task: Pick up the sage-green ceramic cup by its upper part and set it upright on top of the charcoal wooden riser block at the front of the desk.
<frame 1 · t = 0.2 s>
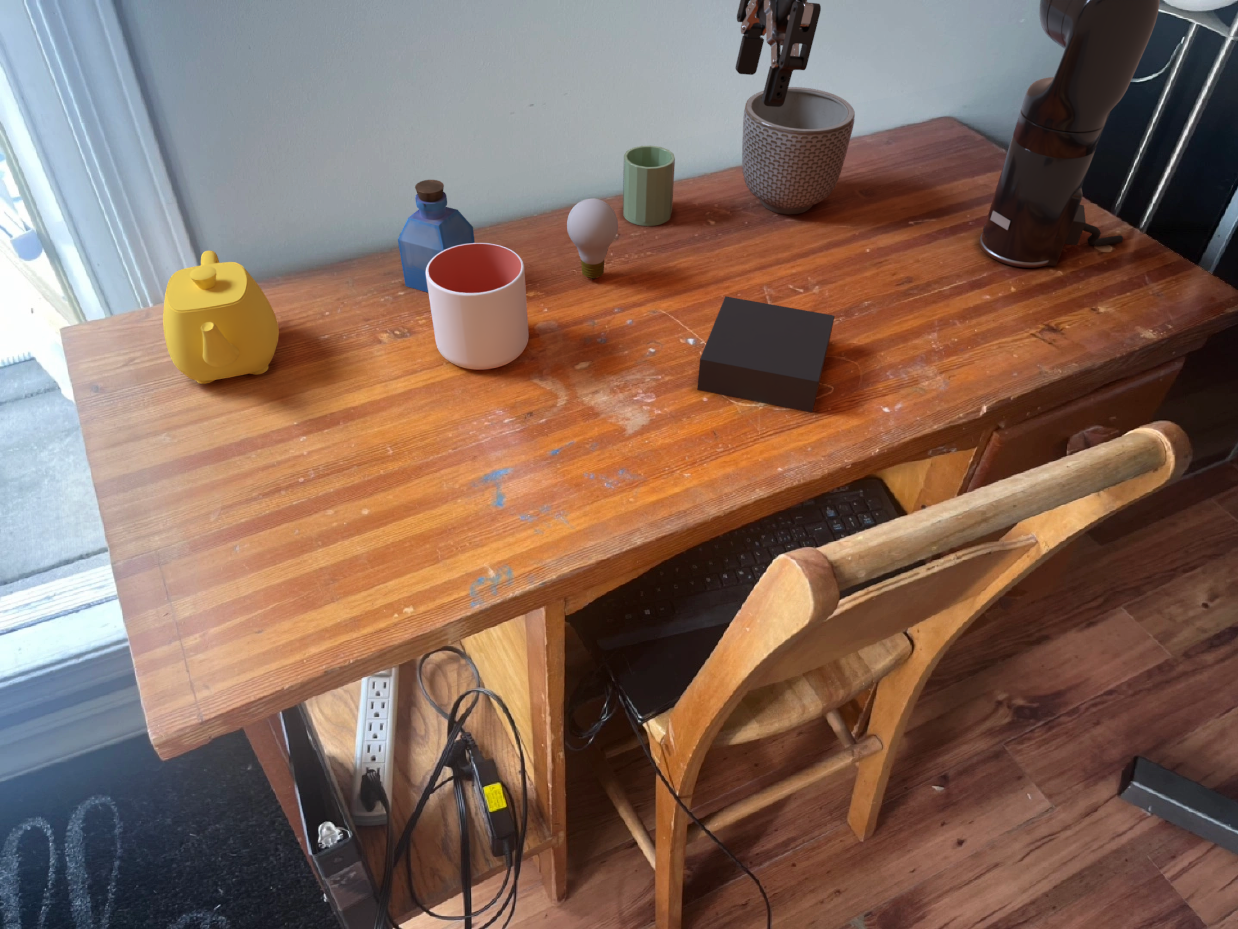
hand: (757, 88, 98), 23 cm above the table, tool pointing down, fingers open, 8 cm apart
riser: (764, 367, 101), on the table
cup: (483, 348, 103), on the table
teapot: (232, 363, 100), on the table
sage cup: (647, 214, 125), on the table
light bulb: (592, 279, 113), on the table
perfume bottle: (442, 280, 113), on the table
planter: (785, 203, 128), on the table
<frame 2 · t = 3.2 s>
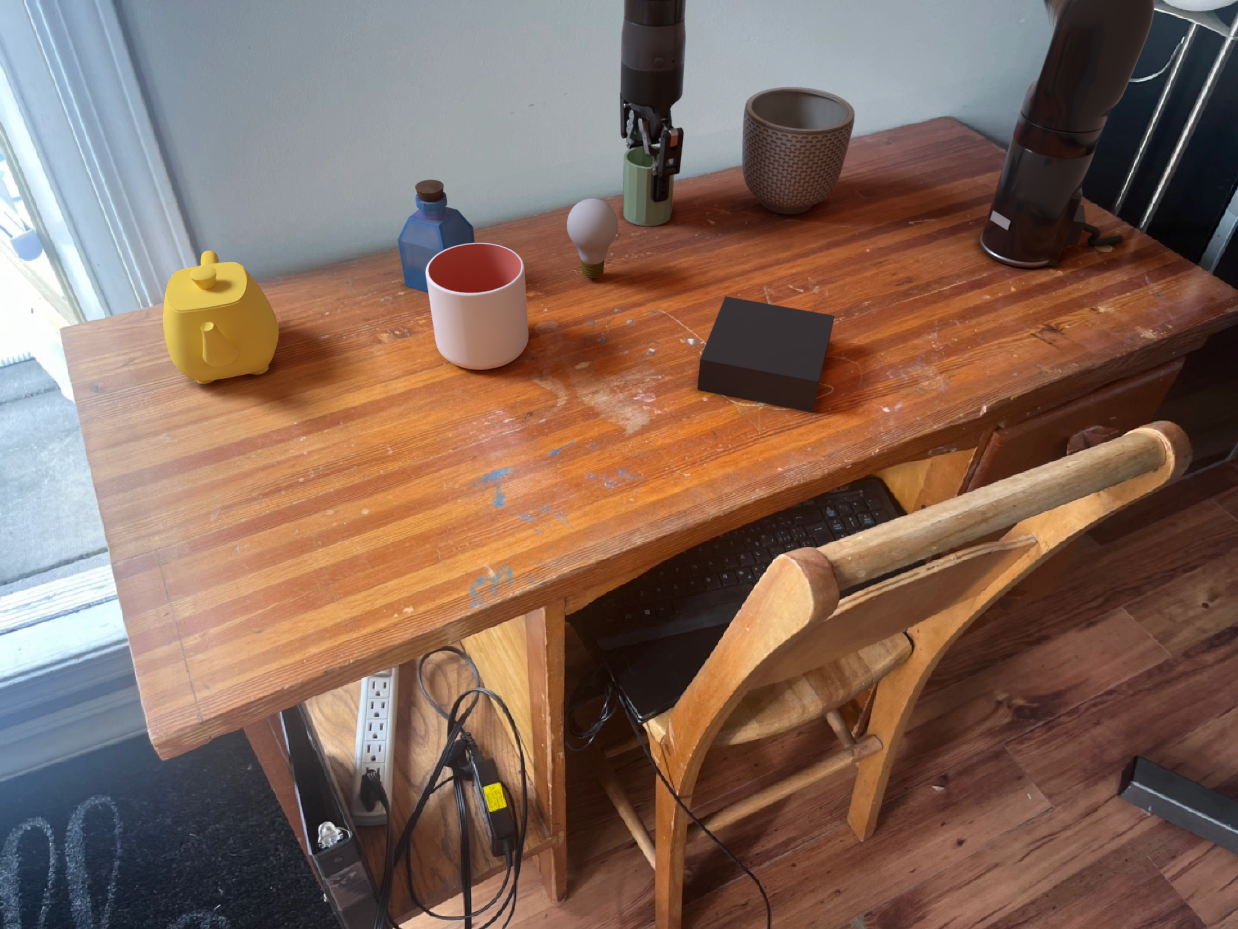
hand: (647, 187, 122), 4 cm above the table, tool pointing down, fingers closed on sage cup, 6 cm apart
sage cup: (647, 214, 125), on the table, touching gripper
everything else where it was.
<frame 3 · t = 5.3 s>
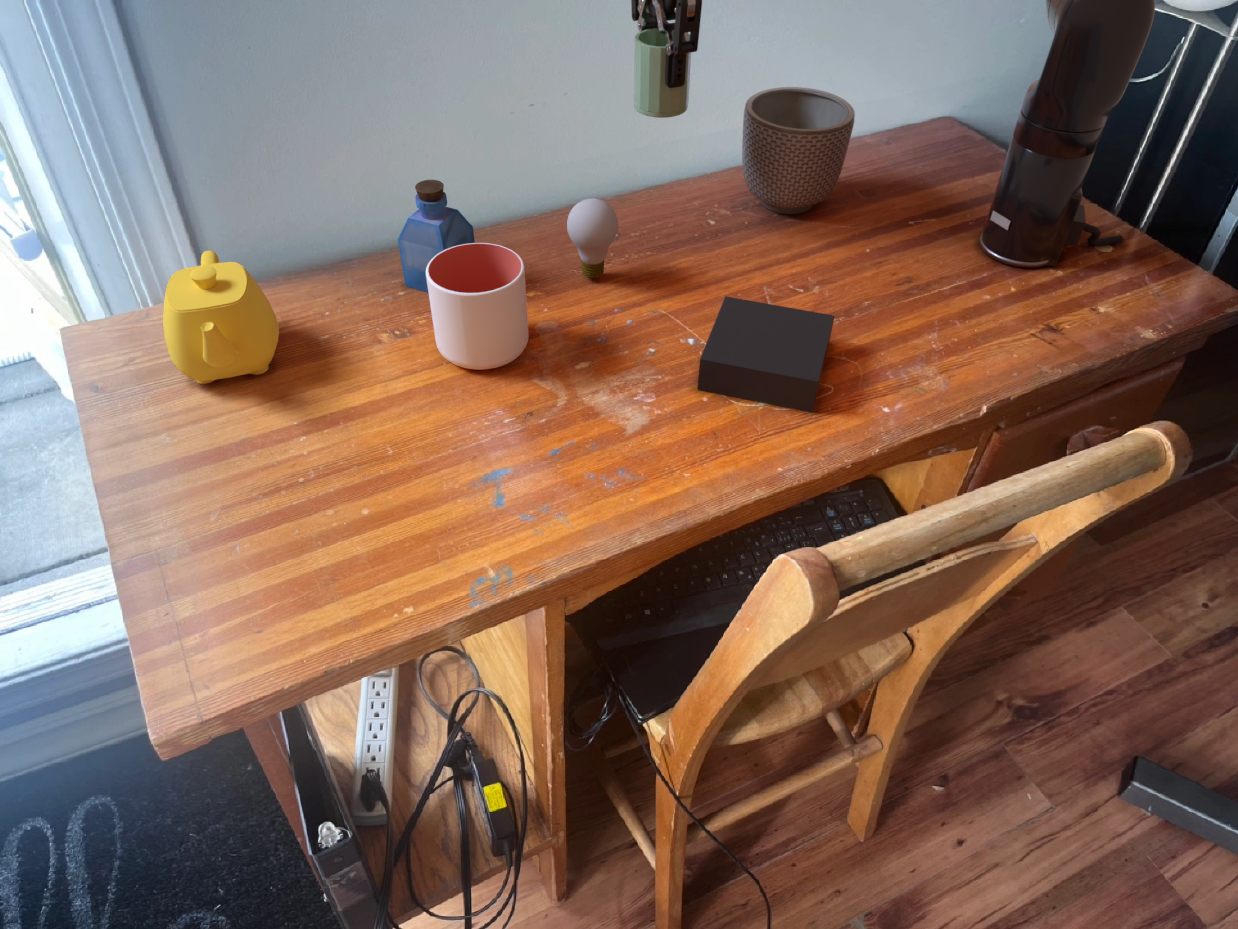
hand: (661, 74, 110), 19 cm above the table, tool pointing down, fingers closed on sage cup, 6 cm apart
sage cup: (661, 106, 113), point 15 cm above the table, touching gripper
everything else where it was.
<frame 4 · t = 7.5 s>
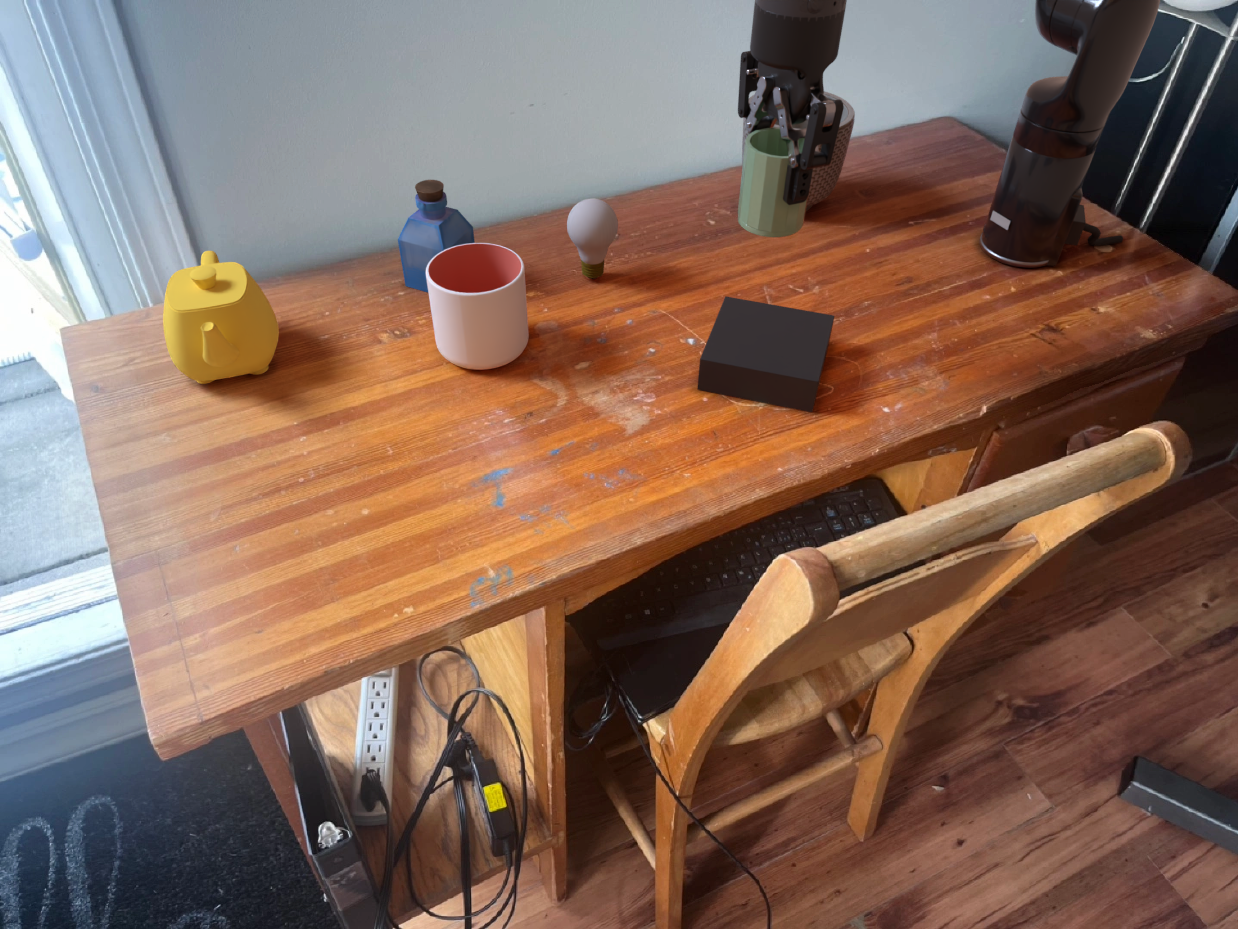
hand: (775, 184, 89), 20 cm above the table, tool pointing down, fingers closed on sage cup, 6 cm apart
sage cup: (770, 220, 92), point 16 cm above the table, touching gripper
everything else where it was.
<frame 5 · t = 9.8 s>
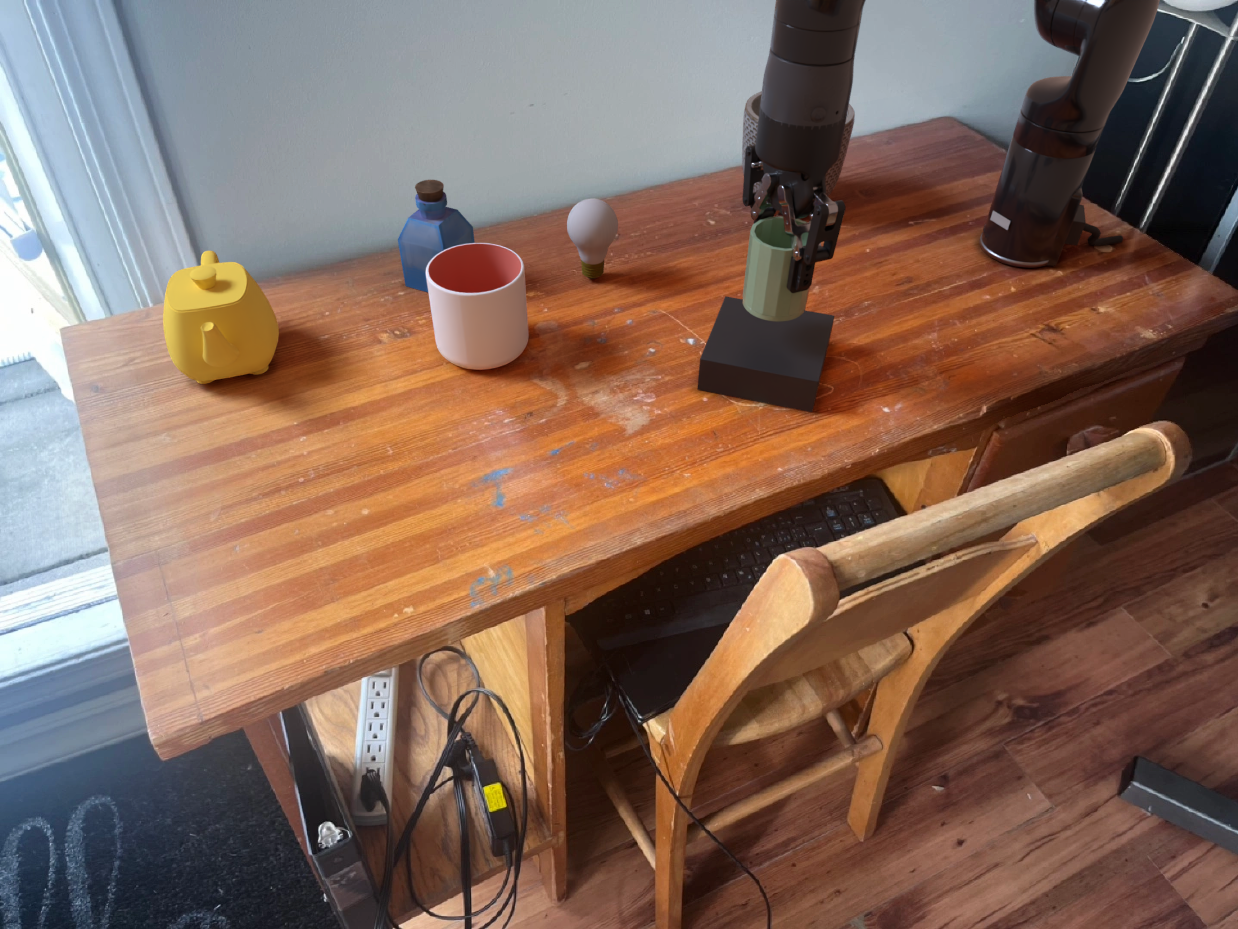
hand: (779, 270, 93), 12 cm above the table, tool pointing down, fingers closed on sage cup, 6 cm apart
sage cup: (774, 303, 95), point 8 cm above the table, touching gripper
everything else where it was.
when the fingers open (8 cm above the table, at t = 11.6 s): sage cup stays where it is, resting on riser.
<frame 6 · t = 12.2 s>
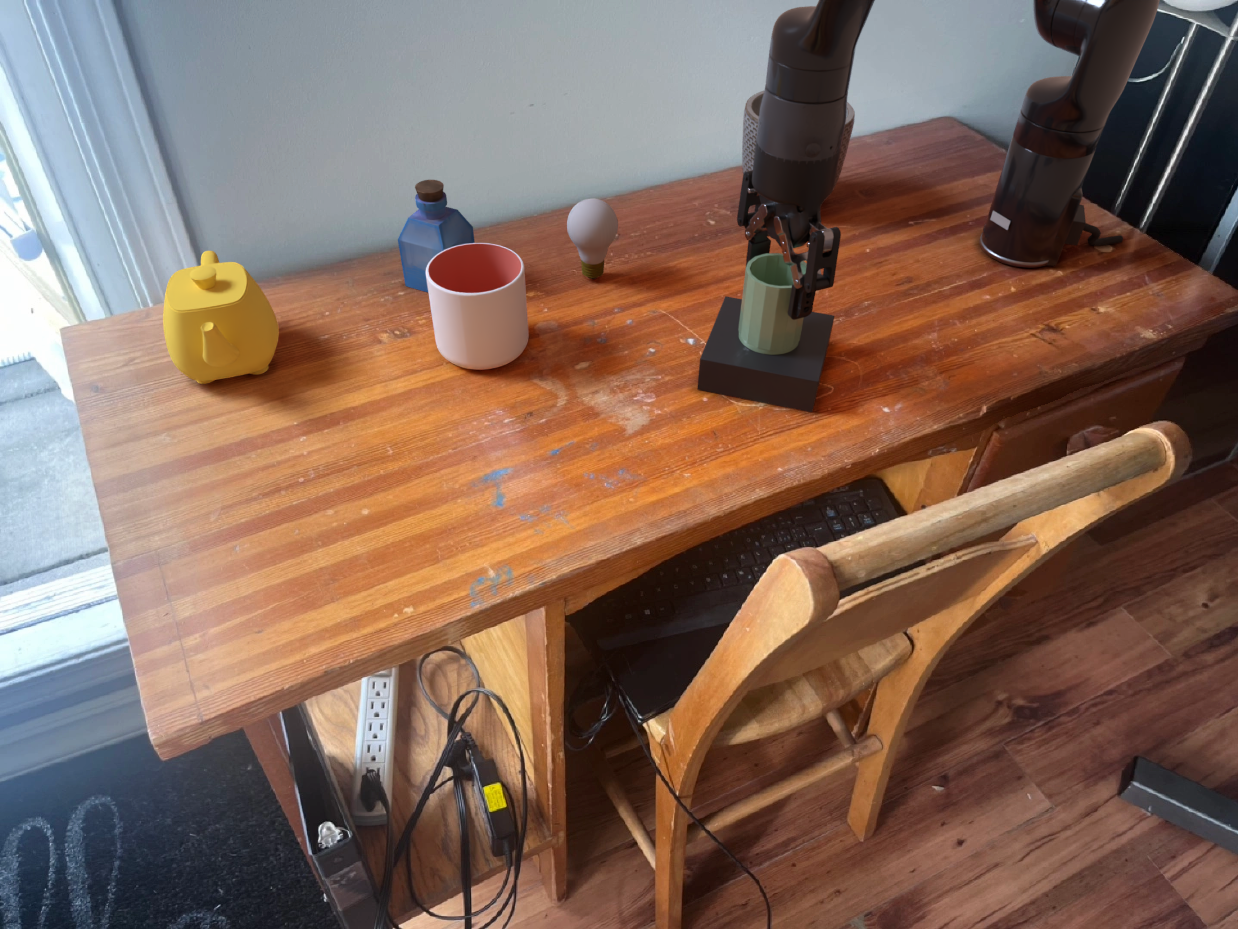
hand: (776, 293, 95), 9 cm above the table, tool pointing down, fingers open, 8 cm apart
sage cup: (769, 336, 98), point 4 cm above the table, touching riser
everything else where it was.
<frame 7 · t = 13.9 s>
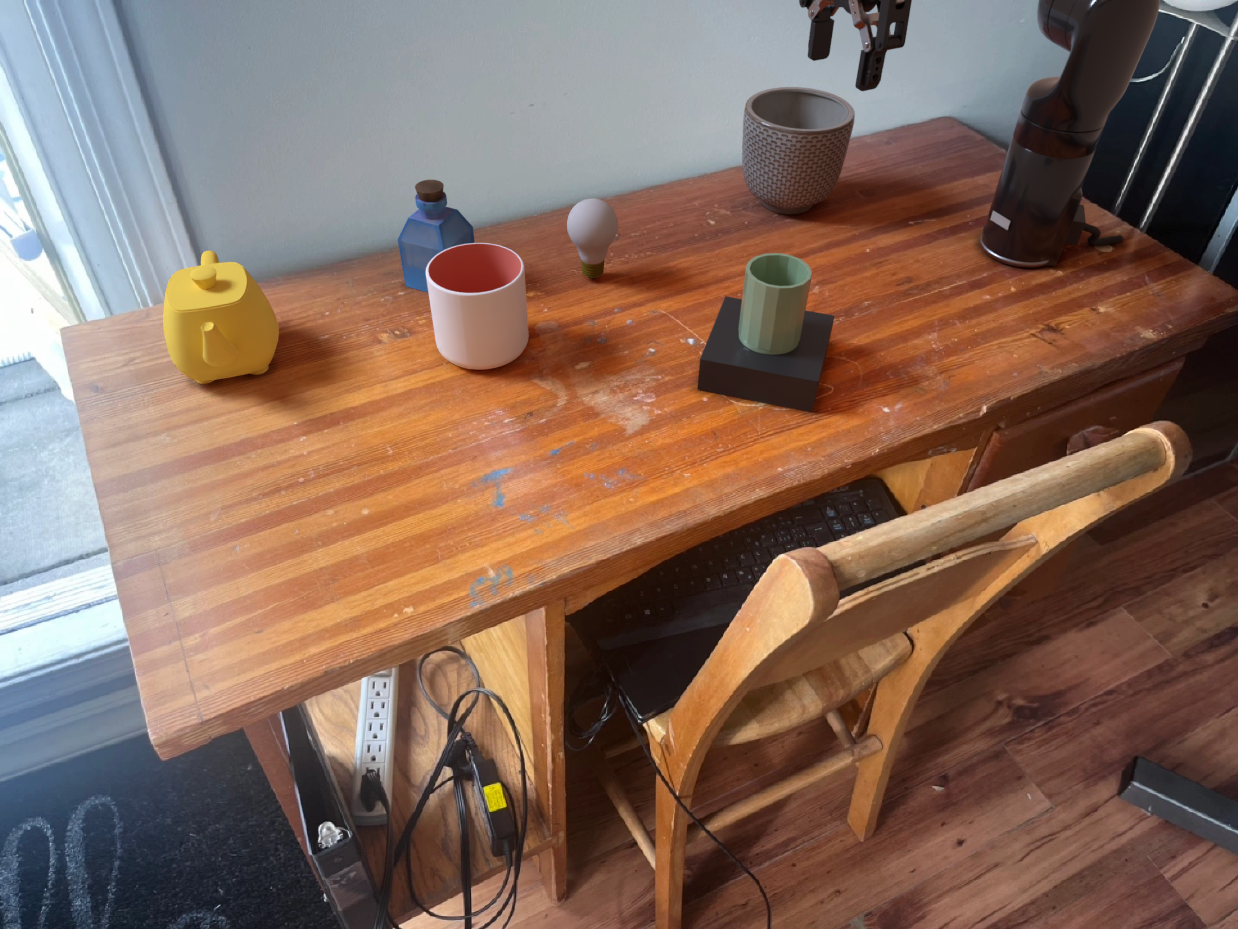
hand: (841, 73, 94), 26 cm above the table, tool pointing down, fingers open, 8 cm apart
nothing on the table moved.
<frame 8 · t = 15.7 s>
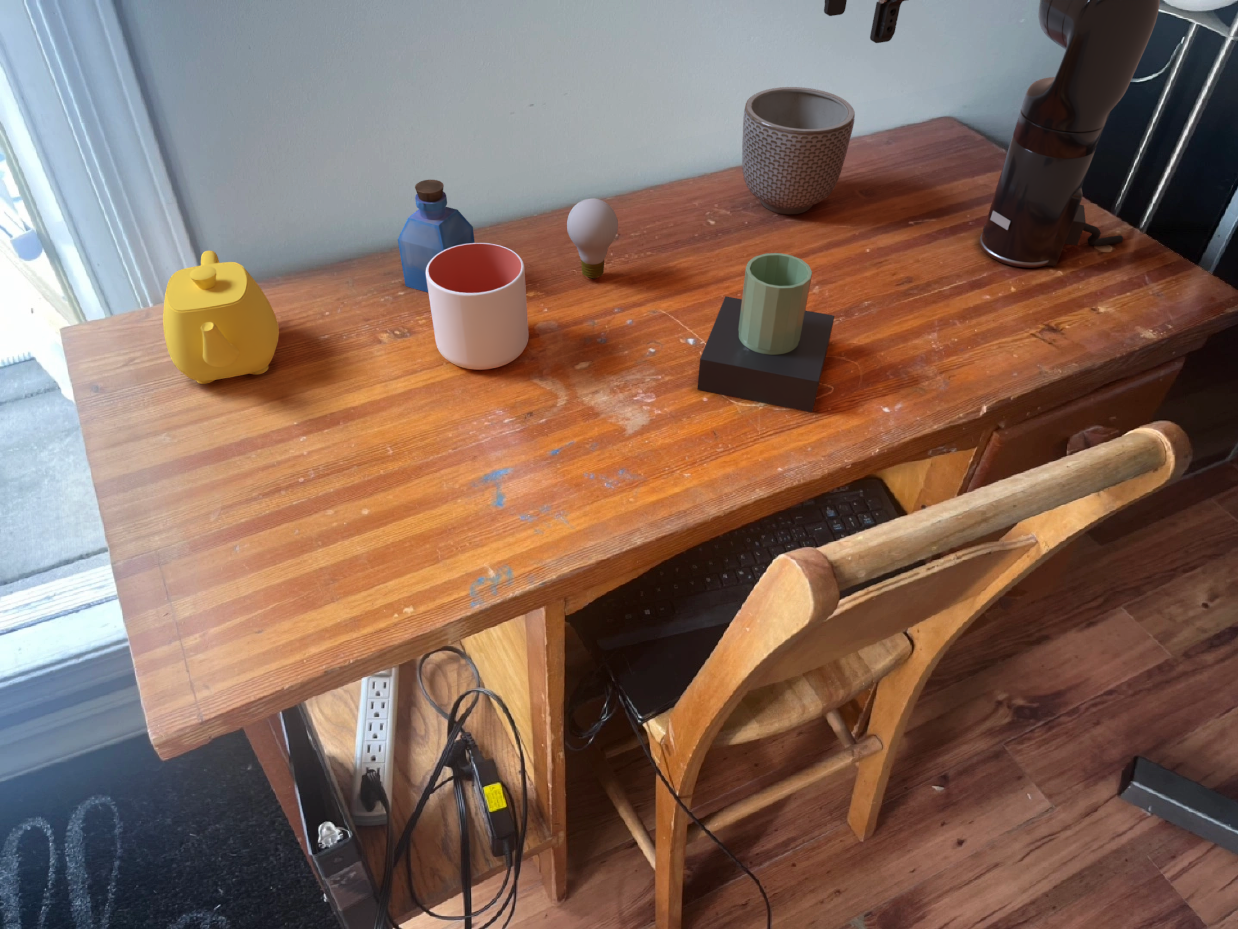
hand: (856, 27, 97), 28 cm above the table, tool pointing down, fingers open, 8 cm apart
nothing on the table moved.
at the end: sage cup inside the target area on the riser (0.0 cm from its centre), point 4.0 cm above the riser's base; sage cup tilted 0°; the gripper is holding nothing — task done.
